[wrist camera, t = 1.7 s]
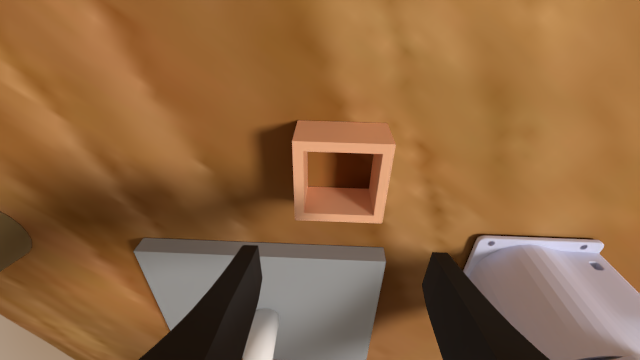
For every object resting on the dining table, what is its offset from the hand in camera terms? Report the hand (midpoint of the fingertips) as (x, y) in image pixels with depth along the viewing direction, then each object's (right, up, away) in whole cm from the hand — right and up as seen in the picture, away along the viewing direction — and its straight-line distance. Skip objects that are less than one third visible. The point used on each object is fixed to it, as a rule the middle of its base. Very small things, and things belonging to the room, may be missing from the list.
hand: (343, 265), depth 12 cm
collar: (0, +5, +8) cm, 9 cm away
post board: (-6, -8, +16) cm, 19 cm away
